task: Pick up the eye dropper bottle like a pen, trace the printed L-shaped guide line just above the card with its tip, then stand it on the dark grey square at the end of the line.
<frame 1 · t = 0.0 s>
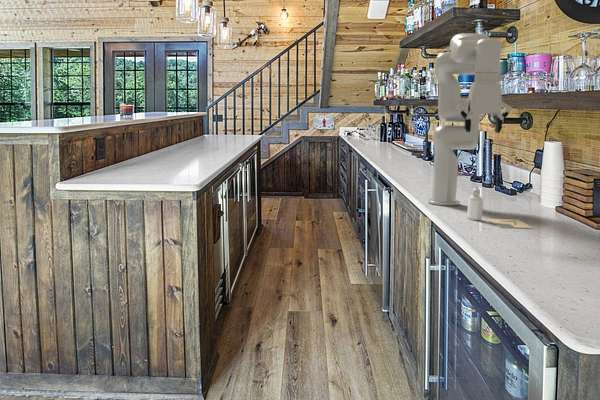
hand: (482, 132, 195), 31 cm above the worktop, fingers open, 9 cm apart
card: (509, 223, 205), on the worktop
eye dropper bottle: (474, 219, 212), on the worktop
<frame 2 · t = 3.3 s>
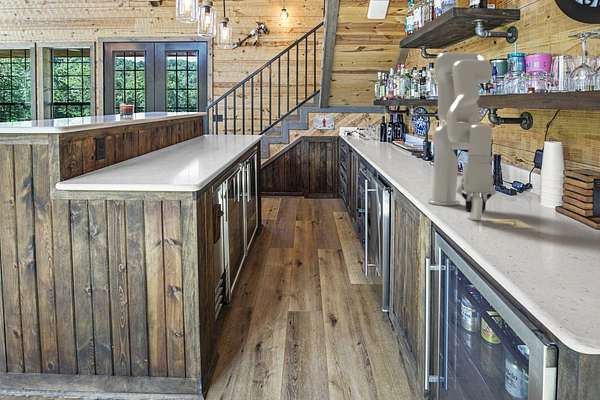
hand: (474, 211, 211), 3 cm above the worktop, fingers closed on eye dropper bottle, 4 cm apart
eye dropper bottle: (474, 219, 212), on the worktop, touching gripper
when the fingers open (4 cm above the worktop, at t = 9.9 s): eye dropper bottle stays where it is, resting on card.
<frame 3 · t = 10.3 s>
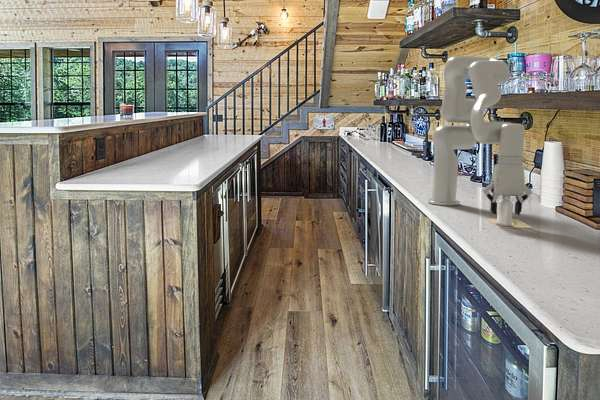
hand: (505, 213, 200), 4 cm above the worktop, fingers open, 7 cm apart
eye dropper bottle: (503, 225, 201), resting on card
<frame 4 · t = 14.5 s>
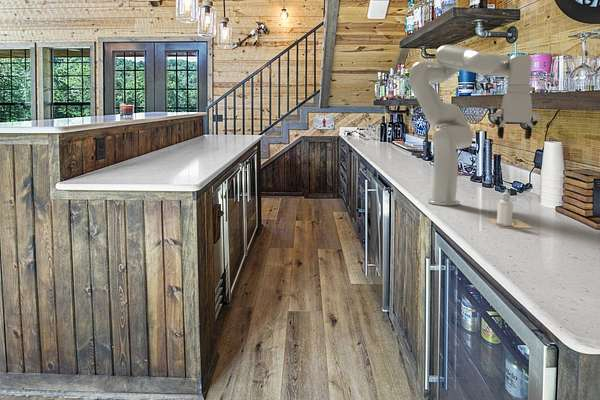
hand: (514, 138, 216), 28 cm above the worktop, fingers open, 9 cm apart
nothing on the worktop moved.
at the end: eye dropper bottle inside the target area (0.3 cm from its centre), resting on card; eye dropper bottle tilted 0°; the gripper is holding nothing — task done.
